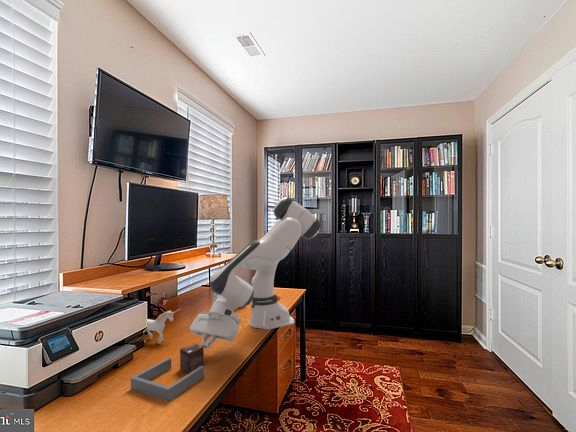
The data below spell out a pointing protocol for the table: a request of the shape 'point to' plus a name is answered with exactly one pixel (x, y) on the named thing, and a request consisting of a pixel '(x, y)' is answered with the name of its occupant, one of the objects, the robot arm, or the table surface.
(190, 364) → the box
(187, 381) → the box
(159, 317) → the unicorn figurine
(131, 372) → the table surface
